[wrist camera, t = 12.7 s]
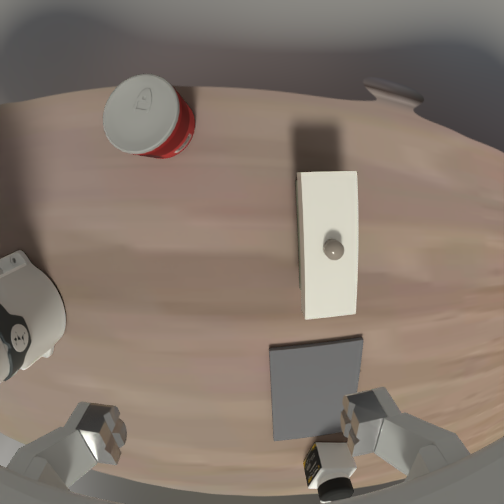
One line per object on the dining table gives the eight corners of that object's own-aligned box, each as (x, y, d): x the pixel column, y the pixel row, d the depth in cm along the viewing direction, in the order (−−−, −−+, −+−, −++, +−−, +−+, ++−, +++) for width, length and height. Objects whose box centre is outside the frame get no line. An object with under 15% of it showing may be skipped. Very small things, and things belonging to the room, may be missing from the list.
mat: (273, 437, 48) (273, 441, 47) (268, 348, 43) (269, 350, 42) (349, 427, 48) (350, 430, 47) (361, 337, 43) (363, 339, 43)
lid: (301, 310, 36) (307, 324, 33) (296, 172, 33) (303, 172, 29) (349, 305, 36) (358, 318, 33) (349, 171, 33) (360, 171, 29)
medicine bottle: (314, 441, 49) (326, 490, 37) (348, 441, 49) (364, 487, 38) (302, 462, 50) (311, 509, 39) (334, 462, 51) (347, 506, 39)
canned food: (196, 96, 35) (179, 68, 24) (196, 157, 37) (178, 150, 26) (138, 102, 35) (104, 79, 24) (138, 161, 37) (101, 158, 26)
